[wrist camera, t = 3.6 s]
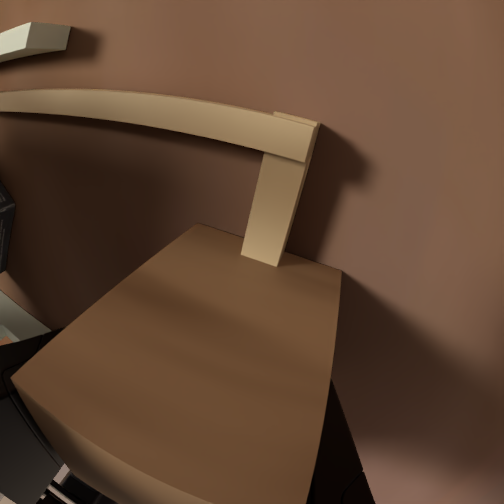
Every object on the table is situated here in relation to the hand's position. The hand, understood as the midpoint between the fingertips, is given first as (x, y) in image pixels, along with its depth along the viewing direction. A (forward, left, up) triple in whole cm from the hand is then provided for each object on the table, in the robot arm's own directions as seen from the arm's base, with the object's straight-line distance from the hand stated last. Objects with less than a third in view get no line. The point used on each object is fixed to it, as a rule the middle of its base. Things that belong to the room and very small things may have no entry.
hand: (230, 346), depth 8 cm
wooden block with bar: (0, +12, -2) cm, 13 cm away
